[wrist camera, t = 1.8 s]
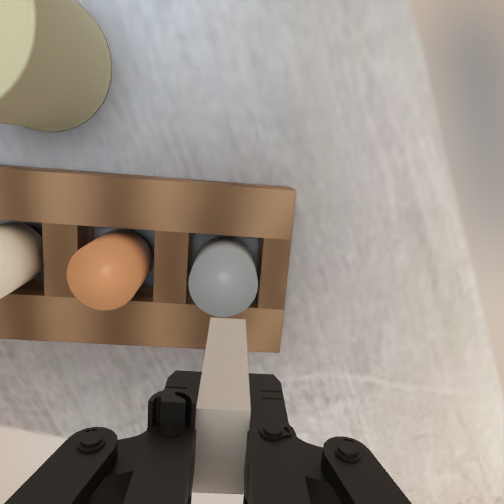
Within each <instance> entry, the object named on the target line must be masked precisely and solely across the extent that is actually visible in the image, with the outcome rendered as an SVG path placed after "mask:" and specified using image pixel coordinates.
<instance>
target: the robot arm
mask: <svg viewBox="0 0 504 504" xmlns="http://www.w3.org/2000/svg"><path fill="white" fill-rule="evenodd" d="M192 492H197V493H198V492H199V493H224V494H244V500H243V504H411V502H410V501H409V500H408V498H407V497H406V496H405V495H404V493H403V492H402V491H401V490H400V488H399V487H398V486H397V484H396V483H395V482H394V481H393V479H392V478H391V477H390V476H389V474H388V473H387V472H386V470H385V469H384V468H383V467H382V465H381V464H380V463H379V462H378V460H377V459H376V458H375V456H374V455H373V454H372V453H371V451H370V450H369V449H368V448H367V447H366V446H365V445H364V444H362V443H361V442H359V441H357V440H355V439H352V438H348V437H333V438H330V439H328V440H327V441H326V442H325V443H324V447H323V448H322V447H319V446H315V445H312V444H309V443H306V442H304V441H302V440H300V439H299V438H298V437H296V433H295V431H294V429H293V428H292V427H291V426H290V425H289V423H288V418H287V412H286V407H285V402H284V397H283V393H282V387H281V382H280V381H279V380H278V379H277V378H276V377H275V376H274V375H270V374H251V373H249V371H248V354H247V336H246V319H231V318H214V317H211V318H210V324H209V331H208V337H207V343H206V350H205V356H204V362H203V368H202V372H194V371H175V372H174V373H173V374H172V375H171V376H169V377H168V379H167V382H166V386H165V389H164V390H163V391H160V392H158V393H156V394H154V395H153V396H152V397H151V398H150V399H149V401H148V428H147V431H145V432H144V433H142V434H140V435H138V436H135V437H131V438H126V439H121V440H117V435H116V434H115V433H114V432H113V431H112V430H110V429H107V428H103V427H92V428H86V429H83V430H81V431H78V432H76V433H75V434H73V435H72V436H71V437H69V438H68V439H67V440H66V441H65V442H64V443H63V444H62V445H61V446H60V447H59V448H58V449H57V450H56V451H55V452H54V453H53V455H51V456H50V457H49V458H48V459H47V461H45V463H44V464H43V465H42V466H41V467H40V468H39V469H38V470H37V471H36V472H35V473H34V474H33V475H32V476H31V477H30V478H29V479H28V480H27V481H26V482H25V483H24V484H23V485H22V486H21V487H20V488H19V489H18V490H17V491H16V492H15V493H14V494H13V495H12V496H11V497H10V498H9V499H8V500H7V501H6V502H5V503H4V504H191V494H192Z"/></svg>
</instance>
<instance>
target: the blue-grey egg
mask: <svg viewBox="0 0 504 504" xmlns="http://www.w3.org/2000/svg"><path fill="white" fill-rule="evenodd" d="M188 284H189V292H190V295H191V297H192V299H193V301H194V303H195V304H196V305H197V306H198V307H199V308H200V309H201V310H203V311H204V312H206V313H208V314H210V315H213V316H217V317H230V316H234V315H237V314H239V313H241V312H243V311H244V310H245V309H247V308H248V307H249V306H250V304H251V303H252V302H253V300H254V298H255V296H256V293H257V289H258V279H257V274H256V269H255V264H254V259H253V256H252V253H251V252H250V250H249V249H248V247H247V246H246V245H245V244H244V243H242V242H241V241H239V240H237V239H235V238H232V237H217V238H214V239H211V240H210V241H208V242H206V243H205V244H204V245H203V246H202V247H201V248H200V250H199V251H198V253H197V256H196V258H195V261H194V264H193V267H192V270H191V273H190V276H189V282H188Z"/></svg>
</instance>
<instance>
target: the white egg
mask: <svg viewBox="0 0 504 504" xmlns="http://www.w3.org/2000/svg"><path fill="white" fill-rule="evenodd" d="M43 269H44V264H43V239H42V237H41V236H40V235H39V234H38V233H37V232H36V231H35V230H34V229H32V228H31V227H29V226H27V225H25V224H22V223H18V222H7V223H3V224H0V299H1V298H3V297H4V296H6V295H8V294H9V293H11V292H12V291H14V290H16V289H17V288H19V287H20V286H22V285H24V284H25V283H27V282H28V281H30V280H32V279H33V278H35V277H36V276H38V275H39V274H40V273H41V272H42V271H43Z"/></svg>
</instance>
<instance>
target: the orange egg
mask: <svg viewBox="0 0 504 504" xmlns="http://www.w3.org/2000/svg"><path fill="white" fill-rule="evenodd" d="M151 267H152V253H151V250H150V248H149V246H148V244H147V243H146V242H145V240H144V239H143V238H142V237H140V236H139V235H138V234H136V233H134V232H131V231H128V230H122V229H118V230H112V231H109V232H107V233H105V234H103V235H102V236H100V237H98V238H97V239H95V240H93V241H92V242H90V243H89V244H87V245H85V246H84V247H82V248H80V249H79V250H78V251H77V252H76V253H75V254H74V255H73V256H72V258H71V259H70V261H69V264H68V267H67V281H68V285H69V288H70V290H71V291H72V293H73V294H74V296H75V297H76V298H77V299H78V300H79V301H80V302H81V303H83V304H84V305H86V306H88V307H90V308H93V309H97V310H113V309H117V308H119V307H122V306H123V305H125V304H126V303H128V302H129V301H130V300H131V299H132V297H133V296H134V295H135V293H136V292H137V290H138V289H139V287H140V286H141V285H142V283H143V282H144V280H145V279H146V277H147V276H148V274H149V273H150V270H151Z"/></svg>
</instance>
